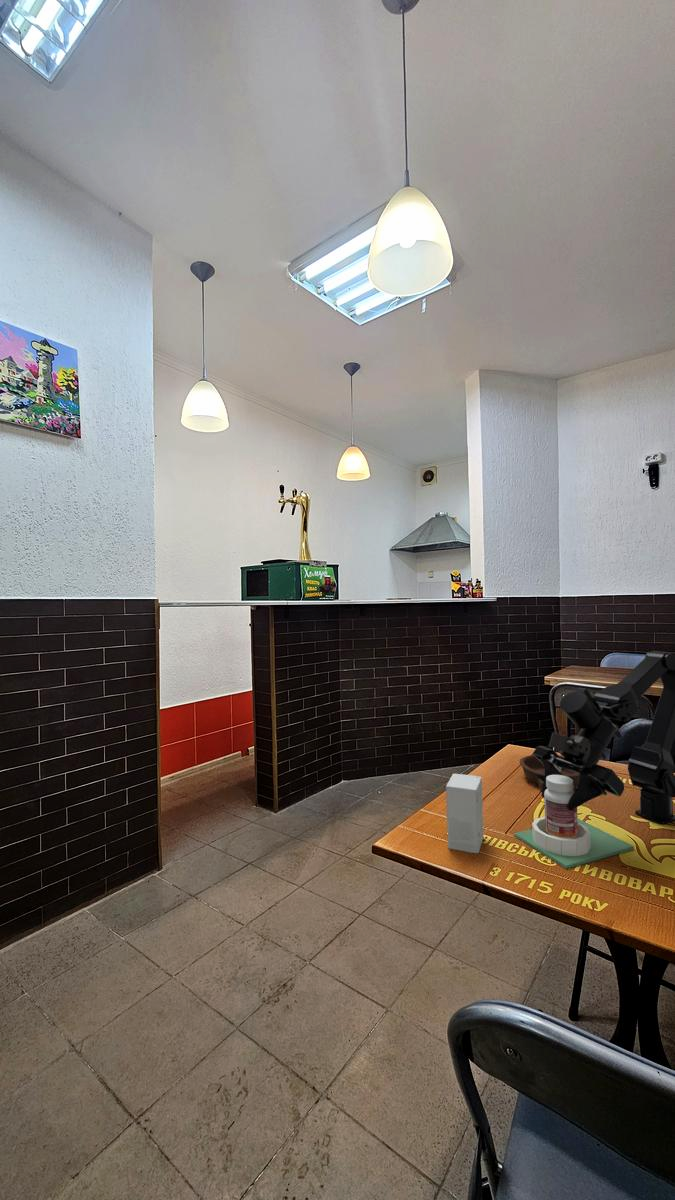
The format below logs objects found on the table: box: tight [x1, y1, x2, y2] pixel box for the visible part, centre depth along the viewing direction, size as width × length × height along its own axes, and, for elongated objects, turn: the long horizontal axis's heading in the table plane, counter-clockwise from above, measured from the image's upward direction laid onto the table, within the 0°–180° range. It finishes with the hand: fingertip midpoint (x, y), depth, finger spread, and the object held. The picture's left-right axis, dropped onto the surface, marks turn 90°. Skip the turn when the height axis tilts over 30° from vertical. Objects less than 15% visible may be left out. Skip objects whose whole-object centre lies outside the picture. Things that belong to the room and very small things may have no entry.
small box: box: [445, 773, 484, 854], centre depth 102 cm, size 8×6×13 cm
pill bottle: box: [543, 775, 579, 839], centre depth 100 cm, size 6×6×11 cm
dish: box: [519, 754, 580, 789], centre depth 135 cm, size 18×22×5 cm
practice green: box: [513, 816, 635, 870], centre depth 101 cm, size 18×14×4 cm
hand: (555, 803), depth 99 cm, fingers closed on pill bottle, 6 cm apart
